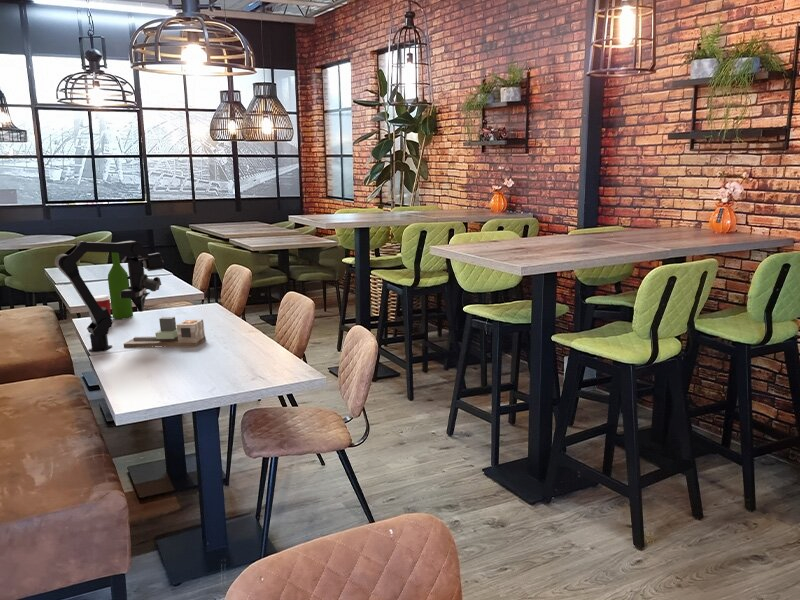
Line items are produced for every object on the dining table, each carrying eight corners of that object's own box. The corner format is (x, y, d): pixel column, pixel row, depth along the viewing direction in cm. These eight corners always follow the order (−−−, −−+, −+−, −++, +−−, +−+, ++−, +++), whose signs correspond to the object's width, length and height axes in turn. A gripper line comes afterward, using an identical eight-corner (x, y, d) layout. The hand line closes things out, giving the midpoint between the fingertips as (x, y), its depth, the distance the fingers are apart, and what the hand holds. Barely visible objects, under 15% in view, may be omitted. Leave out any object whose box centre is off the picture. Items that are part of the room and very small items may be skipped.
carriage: (173, 338, 259) (171, 320, 257) (156, 338, 260) (153, 320, 258) (182, 333, 267) (180, 315, 265) (165, 333, 267) (163, 315, 266)
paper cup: (117, 325, 299) (113, 294, 296) (108, 329, 291) (104, 298, 289) (100, 325, 300) (96, 294, 297) (91, 329, 292) (87, 298, 289)
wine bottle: (137, 315, 318) (129, 247, 312) (124, 319, 310) (116, 249, 303) (121, 314, 321) (112, 247, 314) (108, 319, 312) (99, 249, 306)
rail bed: (195, 346, 257) (193, 325, 256) (123, 347, 261) (121, 326, 259) (205, 339, 267) (203, 319, 265) (136, 340, 270) (133, 320, 269)
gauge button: (193, 335, 260) (192, 322, 259) (184, 335, 260) (183, 322, 259) (197, 333, 264) (196, 320, 262) (188, 333, 264) (187, 320, 263)
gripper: (144, 276, 254) (149, 316, 258) (166, 268, 273) (170, 306, 276) (117, 277, 256) (122, 316, 259) (140, 269, 274) (144, 306, 277)
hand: (141, 311), depth 268 cm, fingers closed
